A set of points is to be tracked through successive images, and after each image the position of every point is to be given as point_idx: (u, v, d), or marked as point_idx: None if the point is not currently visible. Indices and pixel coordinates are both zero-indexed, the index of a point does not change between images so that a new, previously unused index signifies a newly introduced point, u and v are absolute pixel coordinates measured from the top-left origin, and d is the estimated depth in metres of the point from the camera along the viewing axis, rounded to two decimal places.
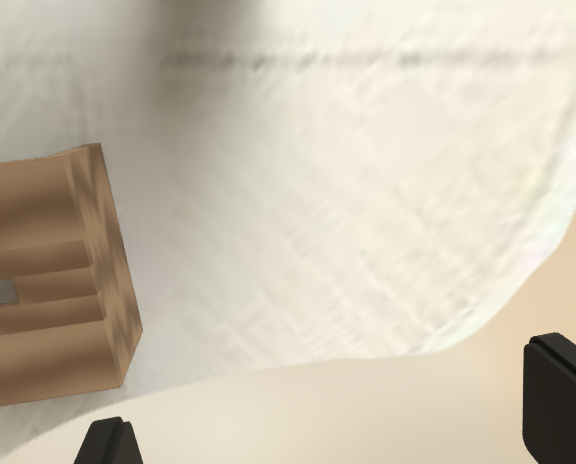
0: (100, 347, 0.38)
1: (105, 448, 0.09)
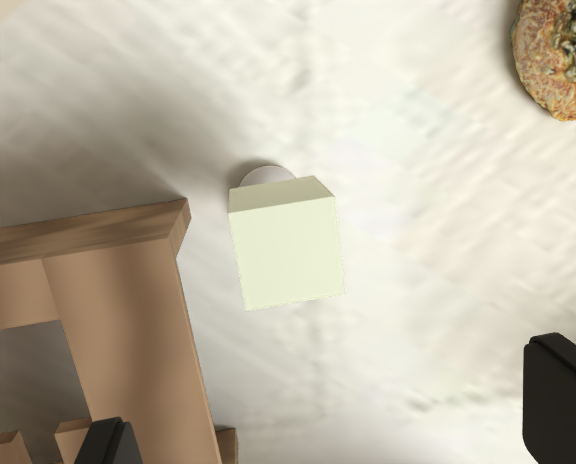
0: None
1: (105, 448, 0.09)
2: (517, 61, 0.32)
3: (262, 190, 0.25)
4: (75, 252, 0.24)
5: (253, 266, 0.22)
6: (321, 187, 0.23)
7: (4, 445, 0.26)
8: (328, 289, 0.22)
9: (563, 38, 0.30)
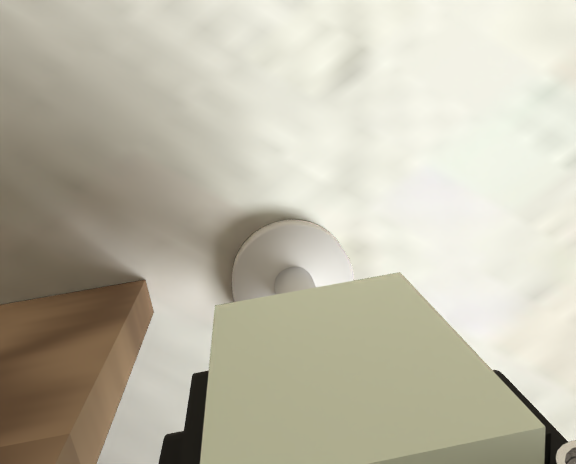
0: None
1: None
2: None
3: (293, 329, 0.10)
4: None
5: None
6: (455, 343, 0.09)
7: None
8: None
9: None
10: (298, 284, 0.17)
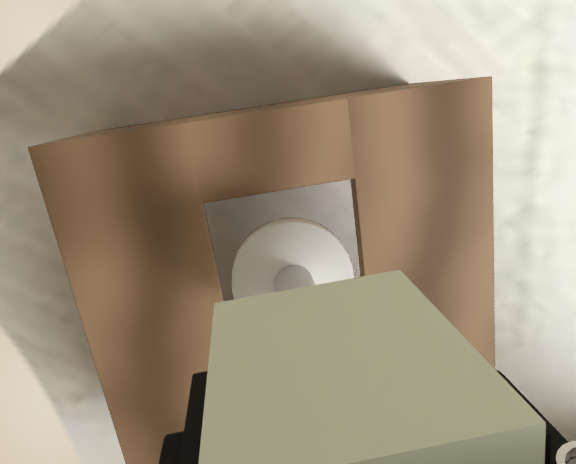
0: None
1: None
2: None
3: (292, 326, 0.10)
4: (384, 92, 0.20)
5: None
6: (455, 340, 0.09)
7: None
8: None
9: None
10: (298, 282, 0.16)
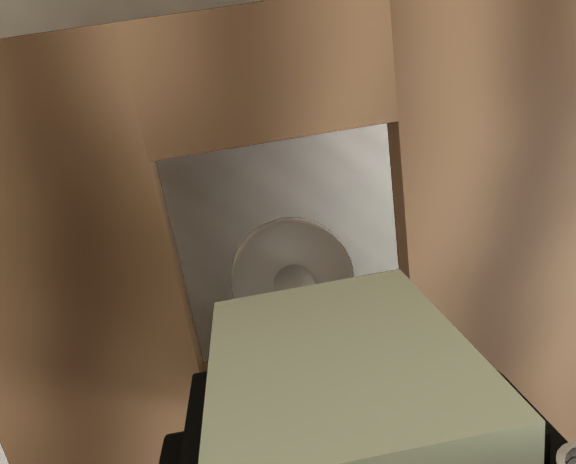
0: None
1: None
2: None
3: (292, 326, 0.10)
4: None
5: None
6: (455, 339, 0.09)
7: None
8: None
9: None
10: (298, 282, 0.16)
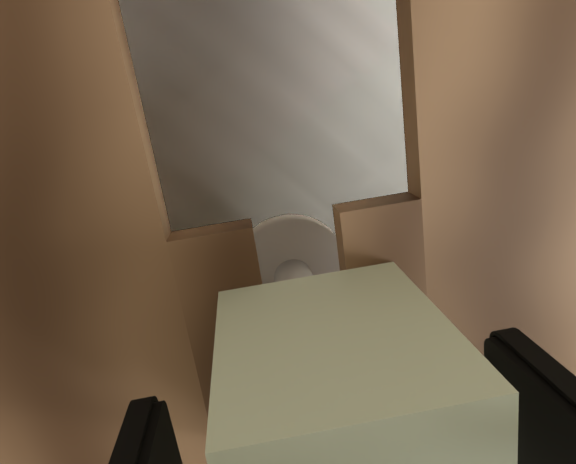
0: None
1: (145, 423, 0.09)
2: None
3: (292, 312, 0.11)
4: None
5: None
6: (442, 323, 0.09)
7: (236, 235, 0.12)
8: None
9: None
10: (297, 276, 0.17)
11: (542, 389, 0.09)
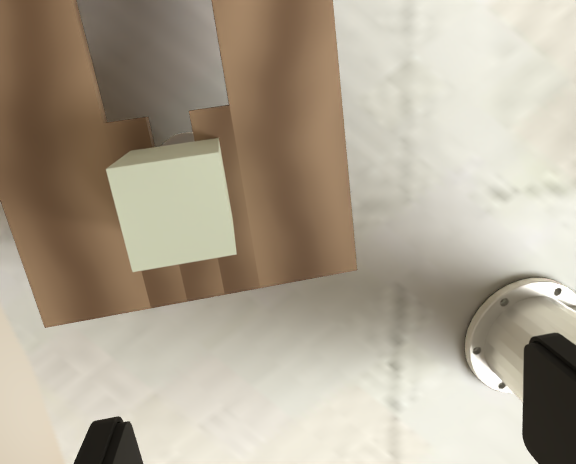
0: (108, 304, 0.28)
1: (105, 448, 0.09)
2: None
3: (158, 150, 0.24)
4: None
5: (138, 225, 0.21)
6: (214, 146, 0.23)
7: (137, 121, 0.25)
8: (218, 249, 0.22)
9: None
10: None
11: None
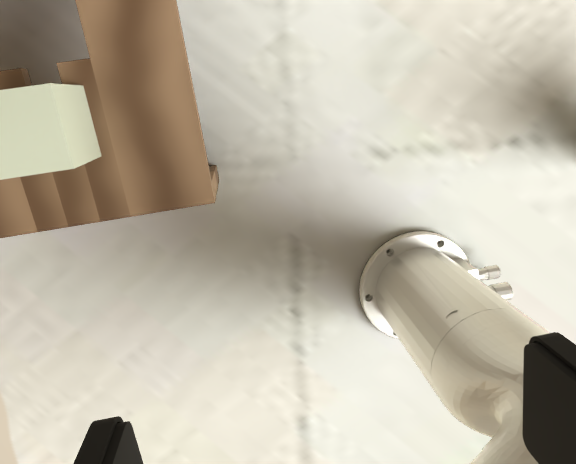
0: (1, 227, 0.34)
1: (105, 448, 0.09)
2: None
3: None
4: None
5: None
6: None
7: (14, 71, 0.31)
8: (58, 164, 0.28)
9: None
10: None
11: None
